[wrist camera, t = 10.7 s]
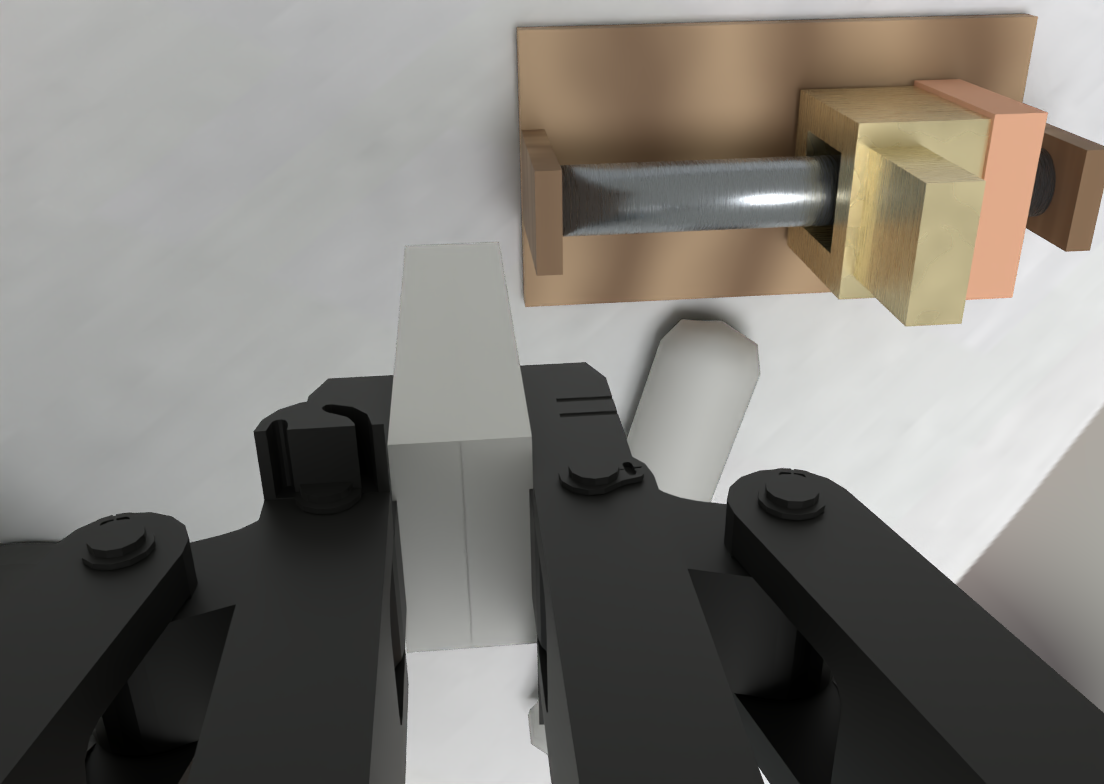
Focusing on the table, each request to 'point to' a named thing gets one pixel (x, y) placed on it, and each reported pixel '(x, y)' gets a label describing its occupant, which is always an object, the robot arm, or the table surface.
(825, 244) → the sleeve
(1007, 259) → the square pink collar
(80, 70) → the table surface
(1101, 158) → the base board
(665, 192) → the pipe
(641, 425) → the tube
